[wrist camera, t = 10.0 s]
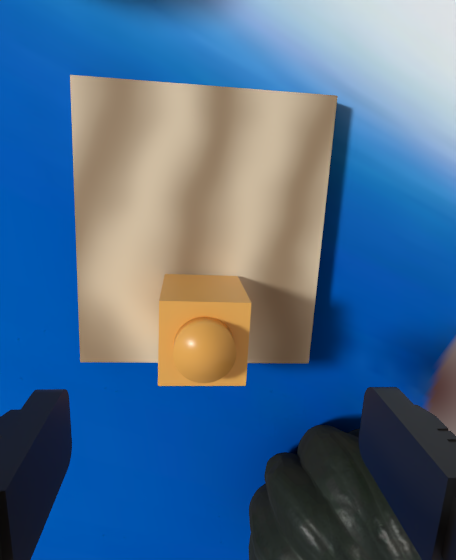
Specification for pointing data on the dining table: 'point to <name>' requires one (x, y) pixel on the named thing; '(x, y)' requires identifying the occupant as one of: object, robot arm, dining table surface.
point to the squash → (324, 505)
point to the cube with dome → (203, 331)
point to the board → (197, 207)
